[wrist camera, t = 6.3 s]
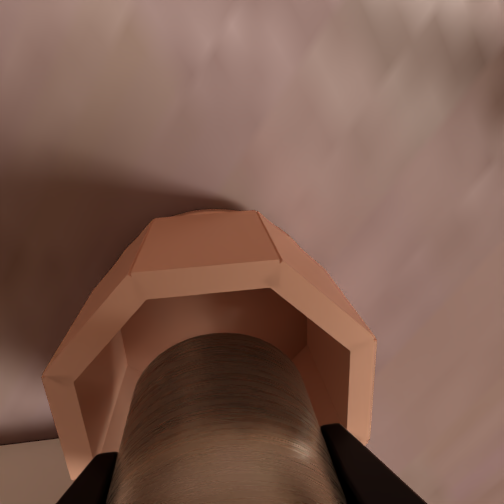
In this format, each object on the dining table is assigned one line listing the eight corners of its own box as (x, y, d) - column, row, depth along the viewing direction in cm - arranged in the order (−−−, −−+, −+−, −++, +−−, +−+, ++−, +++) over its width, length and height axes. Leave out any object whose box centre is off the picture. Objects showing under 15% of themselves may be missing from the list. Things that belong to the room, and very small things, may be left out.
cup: (318, 387, 15) (365, 501, 11) (123, 410, 14) (89, 541, 10) (320, 200, 12) (383, 250, 8) (83, 218, 12) (13, 283, 7)
